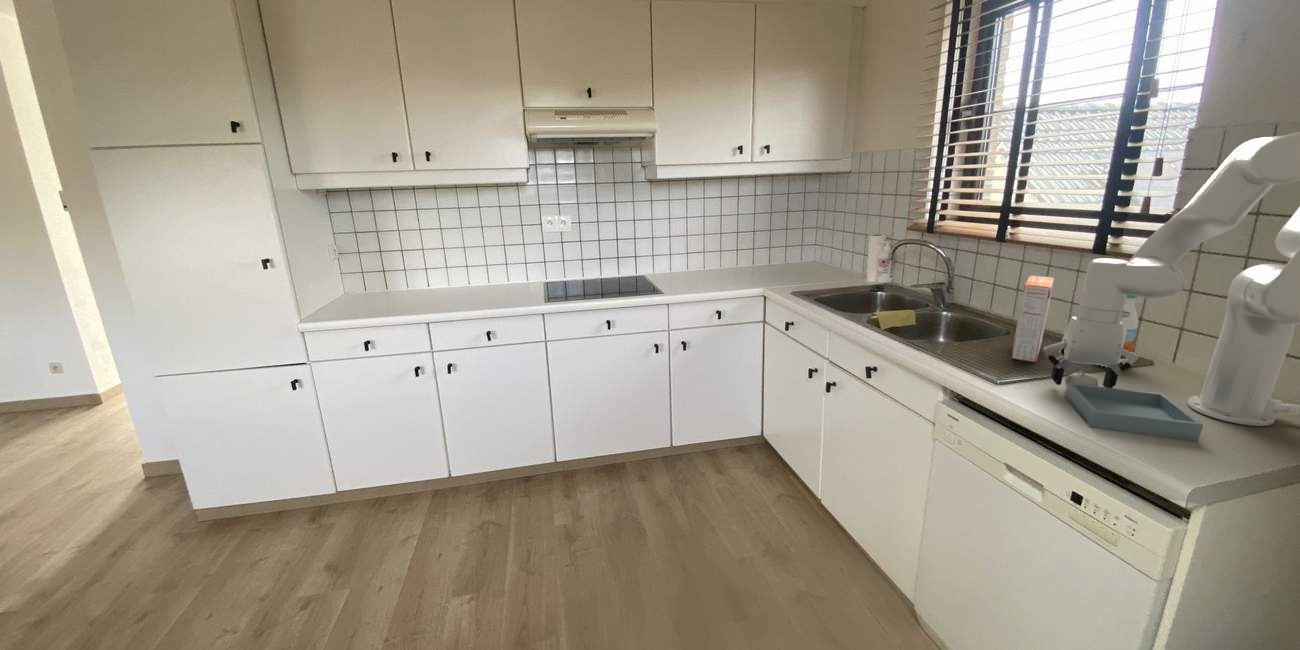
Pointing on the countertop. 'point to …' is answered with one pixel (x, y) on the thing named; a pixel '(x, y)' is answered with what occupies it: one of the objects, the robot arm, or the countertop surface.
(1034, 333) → the cracker box
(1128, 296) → the milk bottle
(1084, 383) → the garlic
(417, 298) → the countertop surface
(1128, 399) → the tray
